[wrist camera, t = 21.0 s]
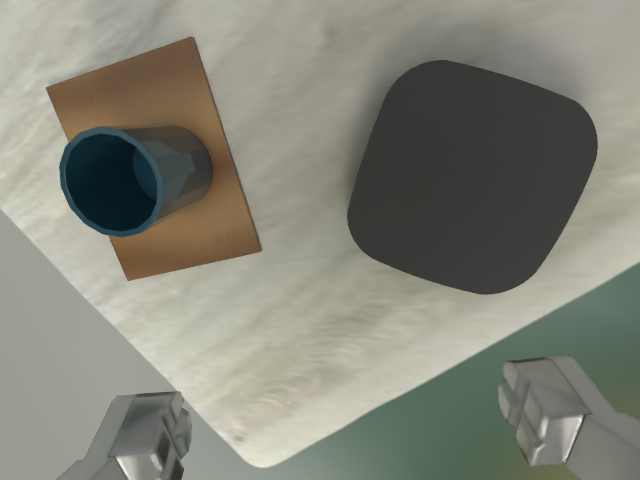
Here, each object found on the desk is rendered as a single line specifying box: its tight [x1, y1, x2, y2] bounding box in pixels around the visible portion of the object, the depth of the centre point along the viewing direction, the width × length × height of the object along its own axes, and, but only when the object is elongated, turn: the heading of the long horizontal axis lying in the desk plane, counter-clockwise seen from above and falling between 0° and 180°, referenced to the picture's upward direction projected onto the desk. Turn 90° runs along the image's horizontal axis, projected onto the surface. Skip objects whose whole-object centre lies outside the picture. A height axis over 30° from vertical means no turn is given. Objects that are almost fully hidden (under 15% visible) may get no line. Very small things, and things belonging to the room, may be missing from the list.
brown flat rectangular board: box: [46, 37, 262, 281], centre depth 33 cm, size 17×13×1 cm
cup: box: [59, 123, 213, 238], centre depth 28 cm, size 7×7×8 cm
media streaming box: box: [347, 60, 598, 294], centre depth 29 cm, size 15×15×3 cm
